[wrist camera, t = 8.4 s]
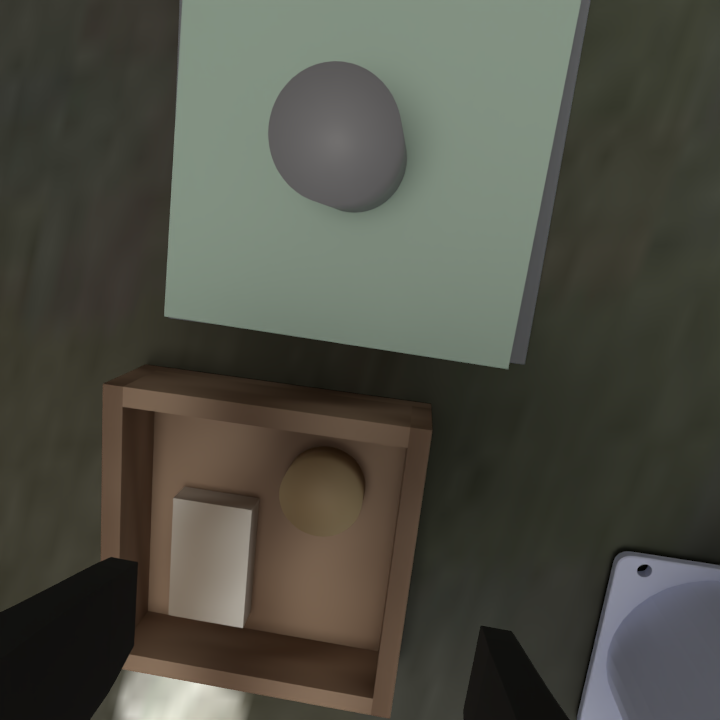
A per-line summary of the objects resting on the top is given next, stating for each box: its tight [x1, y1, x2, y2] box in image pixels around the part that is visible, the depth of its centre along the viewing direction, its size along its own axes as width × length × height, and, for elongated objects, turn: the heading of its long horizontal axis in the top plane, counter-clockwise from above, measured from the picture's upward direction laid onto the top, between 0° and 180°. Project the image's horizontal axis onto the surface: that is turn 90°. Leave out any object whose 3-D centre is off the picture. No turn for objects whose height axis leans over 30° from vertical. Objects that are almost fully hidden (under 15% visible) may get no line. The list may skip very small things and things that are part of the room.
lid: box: [164, 0, 581, 369], centre depth 16 cm, size 12×12×6 cm
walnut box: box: [101, 365, 432, 718], centre depth 21 cm, size 11×11×3 cm
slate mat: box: [168, 0, 590, 364], centre depth 19 cm, size 13×13×1 cm
